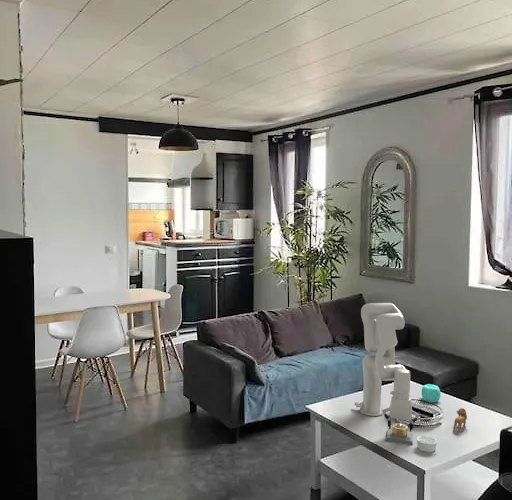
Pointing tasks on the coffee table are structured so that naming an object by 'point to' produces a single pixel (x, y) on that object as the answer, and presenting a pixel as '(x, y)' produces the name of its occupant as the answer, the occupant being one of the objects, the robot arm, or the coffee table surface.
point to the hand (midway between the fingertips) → (400, 429)
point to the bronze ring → (400, 431)
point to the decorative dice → (431, 393)
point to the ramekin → (426, 443)
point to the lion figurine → (460, 419)
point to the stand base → (397, 439)
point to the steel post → (399, 426)
